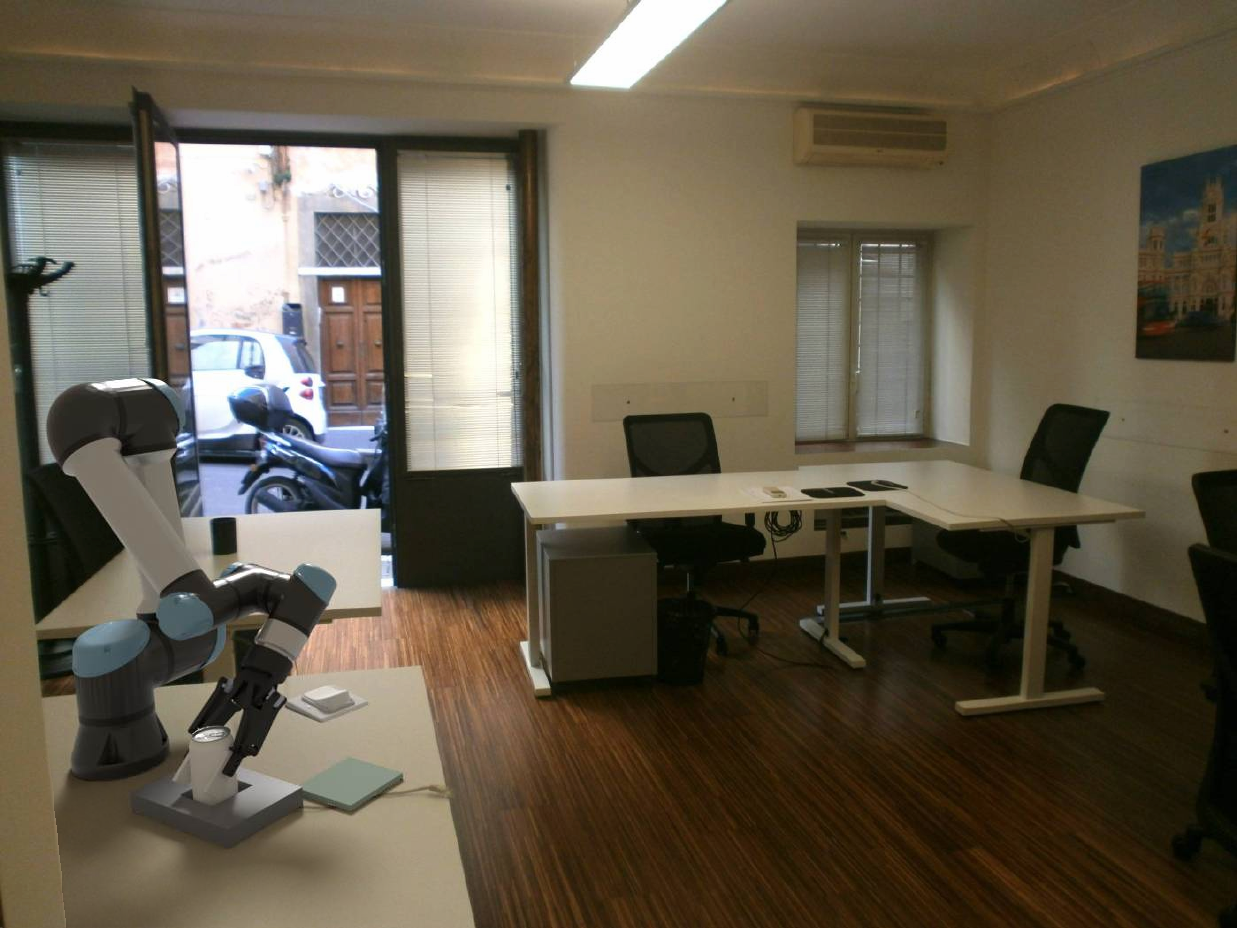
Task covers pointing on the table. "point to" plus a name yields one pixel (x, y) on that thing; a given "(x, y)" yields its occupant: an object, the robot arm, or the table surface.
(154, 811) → the block
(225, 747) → the can
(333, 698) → the light switch
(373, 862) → the table surface
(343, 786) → the mat
